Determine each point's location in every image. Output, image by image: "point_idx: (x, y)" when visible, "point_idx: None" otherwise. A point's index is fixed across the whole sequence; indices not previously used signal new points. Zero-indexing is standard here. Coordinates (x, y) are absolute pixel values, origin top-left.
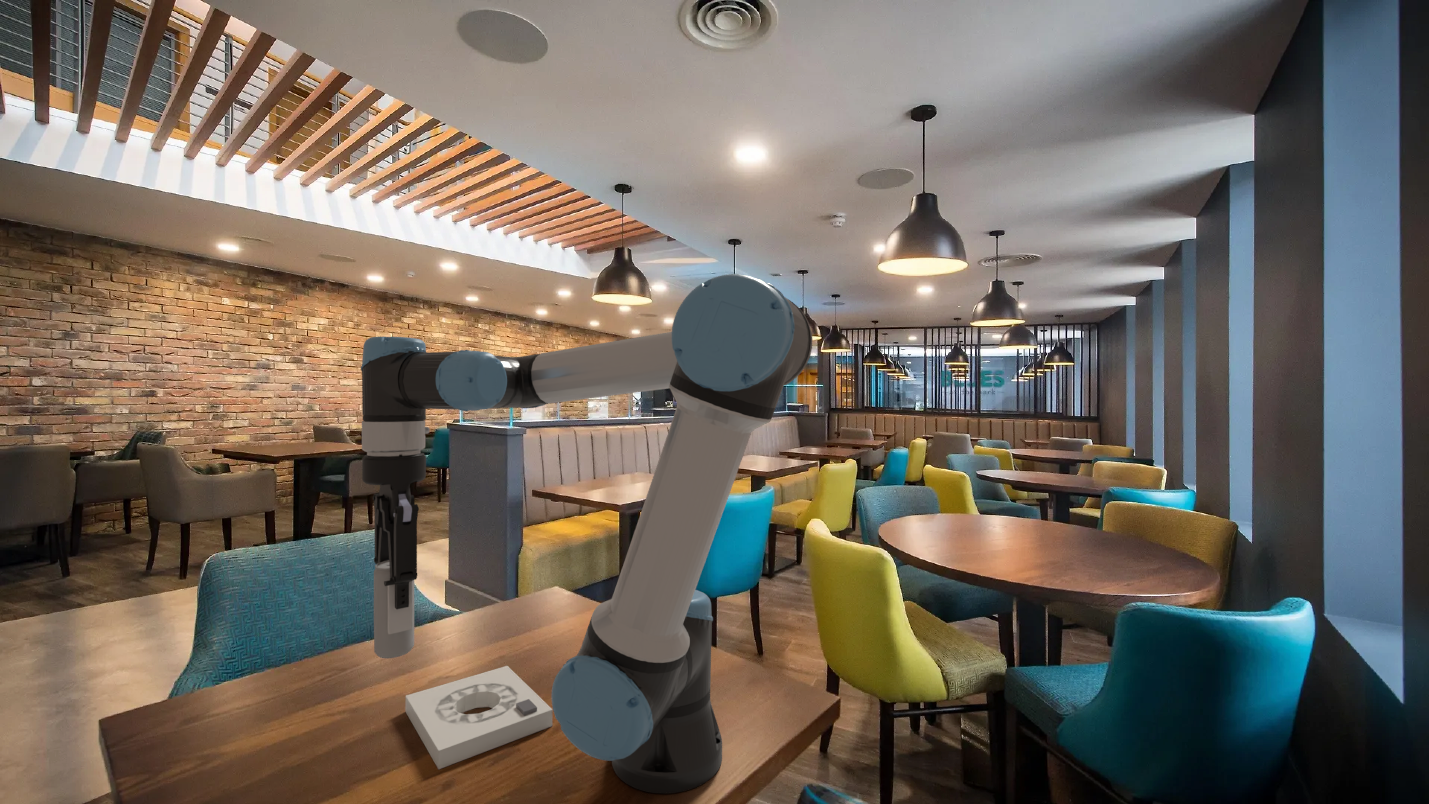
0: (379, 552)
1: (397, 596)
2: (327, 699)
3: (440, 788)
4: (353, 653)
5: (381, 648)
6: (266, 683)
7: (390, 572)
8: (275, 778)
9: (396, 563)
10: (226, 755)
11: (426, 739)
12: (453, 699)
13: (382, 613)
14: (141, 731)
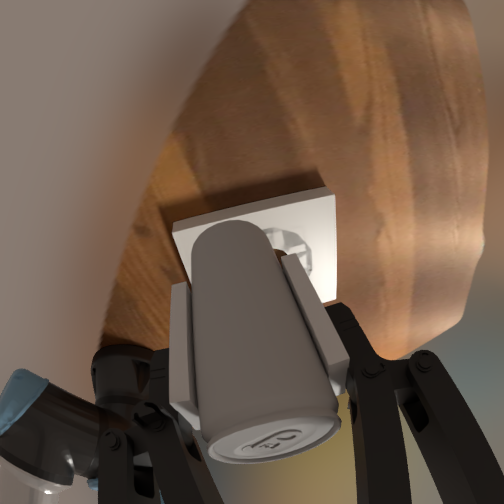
0: (380, 431)
1: (149, 385)
2: (405, 106)
3: (138, 224)
4: (479, 145)
5: (197, 244)
6: (464, 61)
7: (170, 445)
8: (244, 50)
9: (99, 491)
10: (330, 4)
11: (225, 213)
12: (289, 247)
13: (200, 305)
14: None
